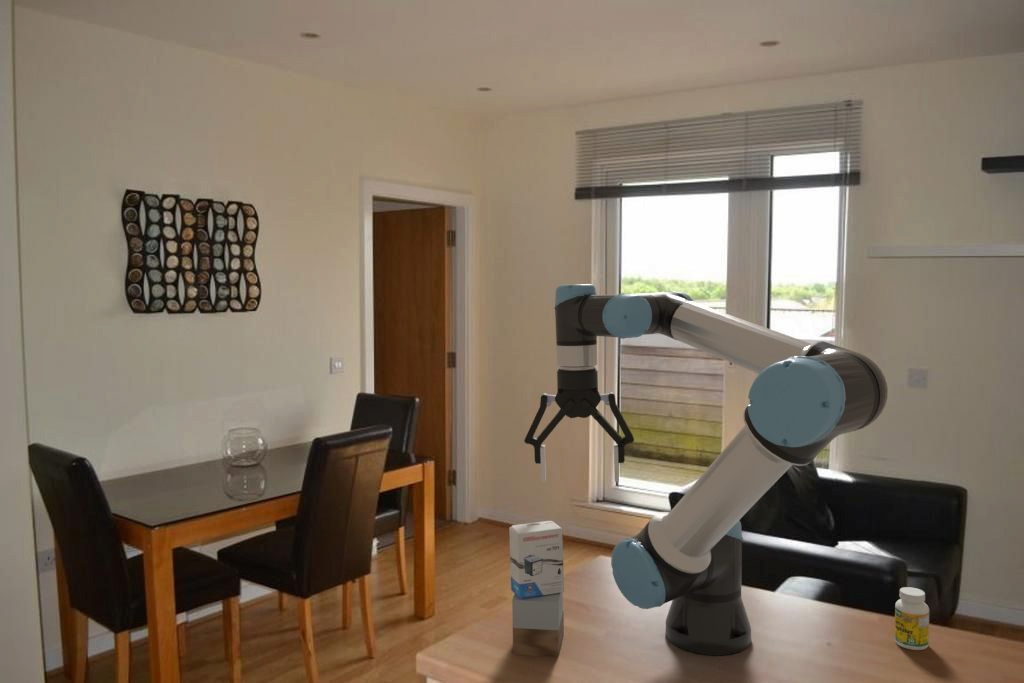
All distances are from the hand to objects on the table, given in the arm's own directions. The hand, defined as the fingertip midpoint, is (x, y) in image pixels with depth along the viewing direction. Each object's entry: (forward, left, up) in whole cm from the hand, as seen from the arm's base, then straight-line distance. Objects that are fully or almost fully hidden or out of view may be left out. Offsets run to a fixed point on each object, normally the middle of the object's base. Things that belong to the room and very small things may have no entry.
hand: (580, 480), depth 150 cm
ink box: (+6, +11, -18) cm, 22 cm away
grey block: (+6, +11, -23) cm, 26 cm away
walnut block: (+6, +10, -28) cm, 30 cm away
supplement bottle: (-58, -1, -28) cm, 65 cm away
